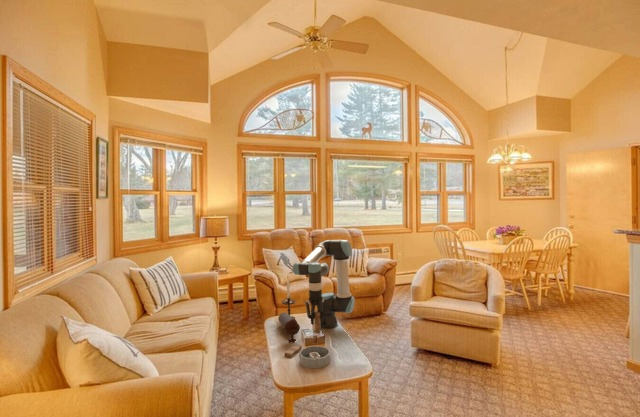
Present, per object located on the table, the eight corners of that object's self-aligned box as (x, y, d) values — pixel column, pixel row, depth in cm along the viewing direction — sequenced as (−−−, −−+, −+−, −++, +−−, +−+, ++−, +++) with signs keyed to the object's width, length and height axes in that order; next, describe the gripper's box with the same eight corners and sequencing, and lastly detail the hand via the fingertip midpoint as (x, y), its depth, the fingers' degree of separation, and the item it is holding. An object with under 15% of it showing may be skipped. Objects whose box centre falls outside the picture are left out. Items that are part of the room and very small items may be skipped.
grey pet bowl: (322, 351, 208) (322, 343, 208) (335, 363, 191) (334, 355, 191) (295, 357, 201) (295, 349, 201) (306, 370, 185) (305, 361, 185)
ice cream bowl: (301, 337, 230) (300, 315, 230) (298, 344, 219) (298, 321, 219) (286, 337, 231) (285, 315, 231) (282, 344, 220) (282, 321, 220)
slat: (294, 348, 214) (294, 344, 214) (301, 350, 212) (301, 346, 212) (284, 356, 204) (284, 352, 204) (291, 358, 201) (291, 354, 201)
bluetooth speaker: (277, 325, 254) (277, 312, 254) (289, 323, 257) (289, 310, 257) (285, 336, 233) (285, 322, 232) (298, 334, 236) (297, 320, 236)
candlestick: (294, 322, 261) (292, 277, 260) (280, 321, 263) (279, 276, 262) (297, 317, 272) (296, 274, 271) (284, 316, 274) (283, 273, 273)
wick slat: (316, 330, 201) (316, 310, 201) (320, 333, 196) (319, 312, 196) (312, 331, 200) (312, 310, 200) (316, 333, 196) (315, 313, 195)
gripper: (324, 286, 205) (325, 325, 205) (300, 289, 199) (301, 329, 199) (329, 289, 198) (331, 329, 198) (305, 292, 192) (306, 333, 192)
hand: (316, 329), depth 198 cm, fingers closed on wick slat, 2 cm apart
